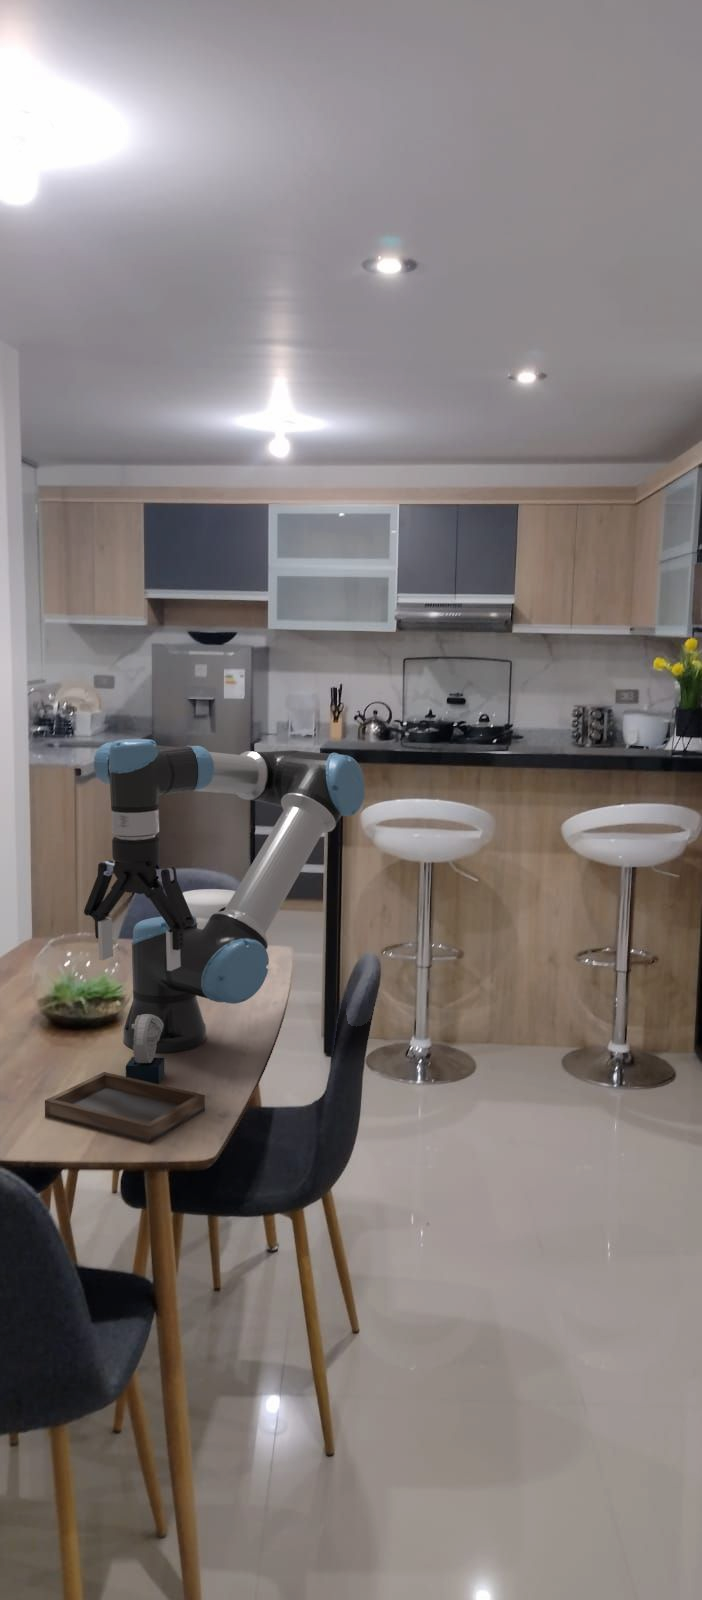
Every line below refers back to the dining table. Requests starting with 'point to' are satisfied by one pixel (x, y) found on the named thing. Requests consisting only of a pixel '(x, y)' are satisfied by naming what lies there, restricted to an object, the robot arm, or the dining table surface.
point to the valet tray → (125, 1106)
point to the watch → (146, 1050)
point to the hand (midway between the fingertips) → (139, 963)
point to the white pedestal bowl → (207, 903)
